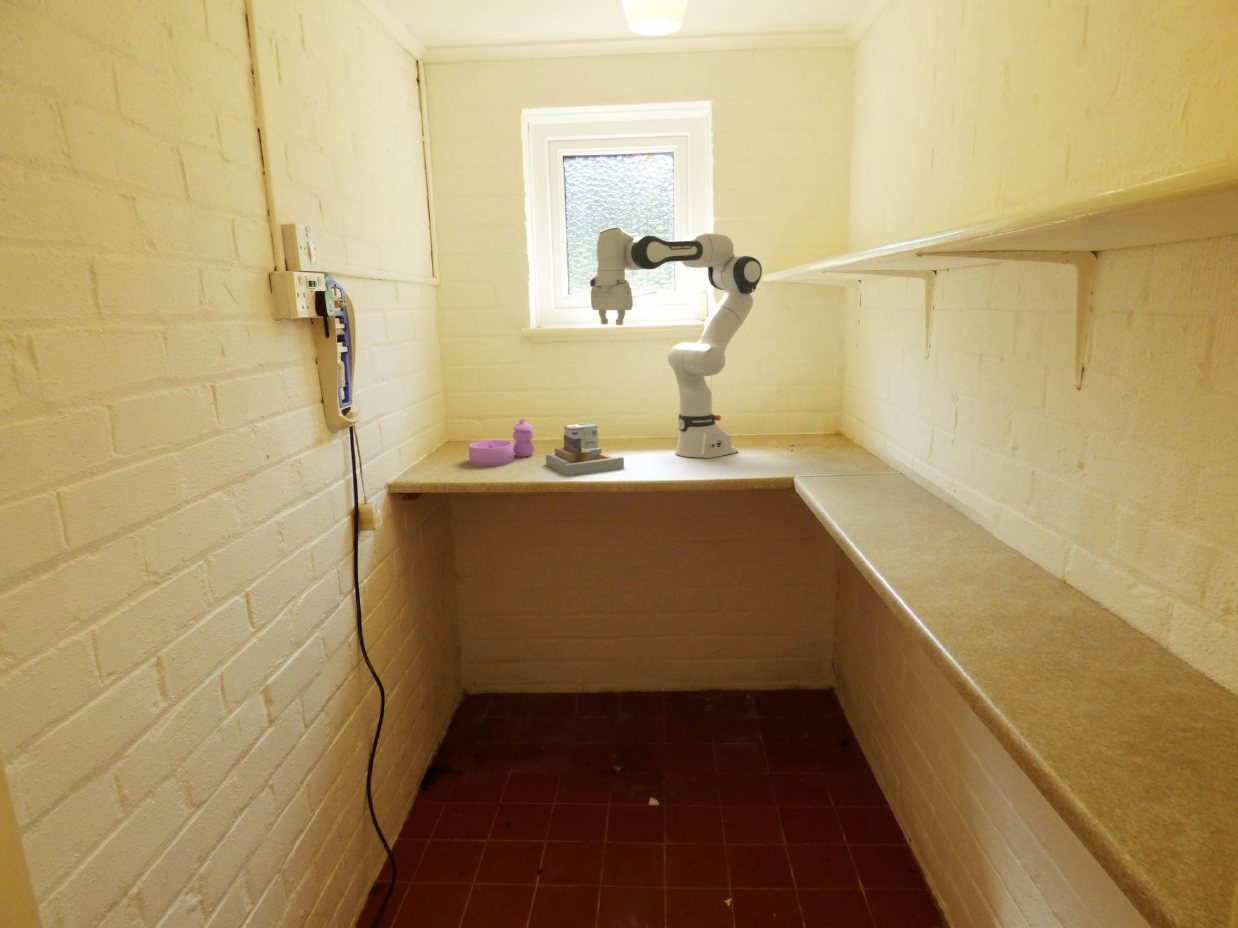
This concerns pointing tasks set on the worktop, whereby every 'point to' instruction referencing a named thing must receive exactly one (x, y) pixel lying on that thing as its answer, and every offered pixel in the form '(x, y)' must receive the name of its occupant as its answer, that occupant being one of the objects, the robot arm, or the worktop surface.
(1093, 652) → the worktop surface
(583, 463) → the bay
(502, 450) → the container set
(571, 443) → the brown and grey block
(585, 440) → the light bulb box
